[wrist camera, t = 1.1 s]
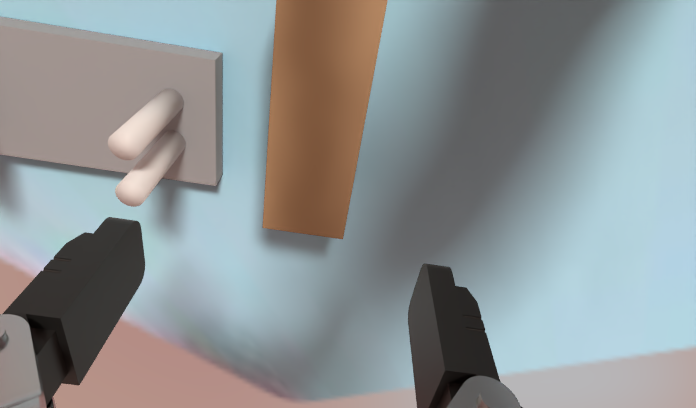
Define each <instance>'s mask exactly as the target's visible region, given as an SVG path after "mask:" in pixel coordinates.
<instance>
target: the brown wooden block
mask: <svg viewBox="0 0 696 408" xmlns="http://www.w3.org/2000/svg"><path fill="white" fill-rule="evenodd" d="M386 5H387V0H277V1H276V17H275V34H274V50H273V66H272V83H271V99H270V115H269V132H268V148H267V165H266V181H265V197H264V214H263V228H267V229H274V230H281V231H288V232H296V233H303V234H310V235H317V236H324V237H331V238H338V239H343V236H344V230H345V225H346V219H347V214H348V209H349V203H350V198H351V193H352V187H353V182H354V177H355V171H356V166H357V161H358V155H359V150H360V145H361V139H362V134H363V128H364V123H365V118H366V112H367V107H368V102H369V96H370V91H371V86H372V80H373V75H374V70H375V64H376V59H377V54H378V48H379V43H380V37H381V32H382V27H383V21H384V16H385V11H386Z"/></svg>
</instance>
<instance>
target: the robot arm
mask: <svg viewBox="0 0 696 408" xmlns="http://www.w3.org/2000/svg"><path fill="white" fill-rule="evenodd" d="M144 271H145V258H144V250H143V241H142V233H141V226H140V223H139V222H138V221H133V220H126V219H119V218H112V217H109V218H107V219H106V220H105V221H104V222H103V223H102V224H101V225H100V226H99V228H98V229H97V230H96V231H95V232H94V234H92V233H83V234H81V235H80V236H78V237H76V238H75V239H73V240H71V241H69V242H68V243H66V244H65V245H64V246H63V248H62V249H61V250H60V251H59V252H58V253H57V254H56V255H55V256H54V259H53V260H51V261H50V262H49V263H48V264H47V265H46V266H45V267H44V270H43V271H41V272H40V273H39V274H38V275H37V276H36V277H35V279H34V280H33V281H32V282H31V283H30V284H29V285H28V286H27V287H26V289H25V290H24V291H23V292H22V293H21V294H20V295H19V296H18V297H17V299H16V300H15V301H14V302H13V303H12V304H11V305H10V306H9V307H8V309H7V310H6V311H5V312H4V313H3V314H0V408H56V406H55V401H54V398H53V396H54V394H55V393H56V391H57V389H58V388H59V386H60V385H61V383H64V384H73V385H80V383H81V381H82V380H83V378H84V377H85V375H86V373H87V372H88V370H89V368H90V367H91V365H92V363H93V362H94V360H95V359H96V357H97V355H98V353H99V352H100V350H101V349H102V347H103V345H104V344H105V342H106V340H107V339H108V337H109V335H110V334H111V332H112V330H113V329H114V327H115V325H116V324H117V322H118V320H119V319H120V317H121V316H122V314H123V312H124V311H125V309H126V307H127V306H128V304H129V302H130V301H131V299H132V297H133V296H134V294H135V292H136V291H137V289H138V287H139V286H140V284H141V282H142V279H143V276H144ZM408 325H409V335H410V344H411V354H412V363H413V373H414V382H415V391H416V401H417V408H522V407H521V406H520V404H519V402H518V400H517V398H516V397H515V395H514V394H513V393H512V391H510V389H509V388H507V387H506V386H505V385H504V384H502V383H501V382H500V379H499V376H498V373H497V369H496V366H495V362H494V359H493V355H492V352H491V349H490V345H489V342H488V338H487V335H486V333H485V328H484V324H483V321H482V320H481V314H480V310H479V307H478V303H477V301H476V300H475V299H474V297H473V296H472V295H471V293H470V292H469V291H468V289H467V288H465V287H458V286H455V283H454V278H453V274H452V271H451V268H450V267H445V266H438V265H431V264H423V266H422V268H421V270H420V273H419V276H418V279H417V282H416V285H415V288H414V292H413V295H412V298H411V301H410V305H409V312H408Z"/></svg>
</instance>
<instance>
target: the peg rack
mask: <svg viewBox="0 0 696 408" xmlns="http://www.w3.org/2000/svg"><path fill="white" fill-rule="evenodd" d="M0 155H7V156H14V157H21V158H28V159H35V160H41V161H48V162H55V163H62V164H69V165H76V166H83V167H89V168H96V169H103V170H110V171H117V172H124V173H128V174H127V175H126V176H125V178H124V179H123V180H122V181H121V182H120V183H119V184H118V185H117V187H116V189H115V193H116V196H117V197H118V199H119V200H120V201H121V202H122V203H124V204H126V205H128V206H139V205H141V204H142V203H143V202H144V201H145V199H146V198H147V197H148V195H149V194H150V193H151V192H152V190H153V189H154V188H155V186H156V185H157V184H158V182H159V181H160V180H161V179H162V178H165V179H171V180H178V181H185V182H192V183H199V184H206V185H212V186H217V184H218V182H219V180H220V178H221V176H222V53H220V52H214V51H208V50H202V49H195V48H189V47H183V46H177V45H171V44H165V43H159V42H153V41H146V40H140V39H134V38H128V37H122V36H116V35H110V34H104V33H97V32H91V31H85V30H79V29H73V28H67V27H61V26H55V25H48V24H42V23H36V22H30V21H24V20H18V19H12V18H6V17H0Z"/></svg>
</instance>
